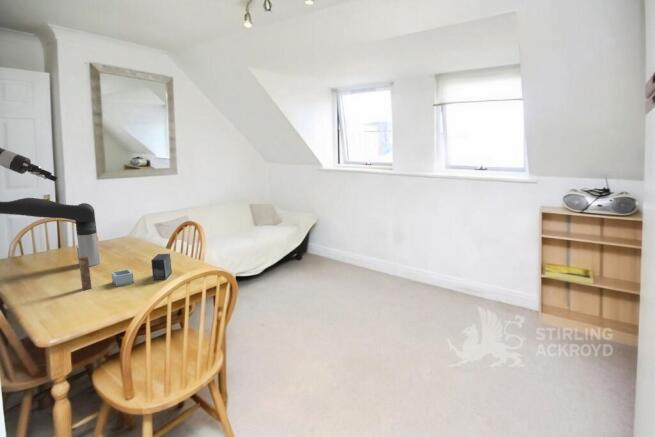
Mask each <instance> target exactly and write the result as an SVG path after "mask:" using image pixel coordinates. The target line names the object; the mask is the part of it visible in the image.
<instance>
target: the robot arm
mask: <svg viewBox="0 0 655 437" xmlns="http://www.w3.org/2000/svg"><path fill="white" fill-rule="evenodd" d="M0 166H1V167H3V168H5V169H7V170H10V171H13V172H16V173H18V174H21V175H23V174H25V173H26V172H28V173H29V174H31V175H34V176H36V177H39V178H43V179H45V180H47V179H48V180H50V181H52V182H57V180H58V177H57V176H56V175H53V174H52V172H50V171H49V170H45V169H43V168H42V167H41V166H38V165H36V164H35V163H34V164H33V163H32V162H31V159H30V158H28V157H26V156H24V155H21V154H19V153H17V152H14V151H10V150H7V149H4V148H2V147H0ZM0 214H1V215H14V216H26V217H35V218H46V219H47V218H48V219H64V220H70V221H75V230H76V237H77V238H76V239H77V246H78V247H77V248H76V252H77V260H78V261H77V262H79V257H81V256H87V257H88V262H89V267H93V266H97V265H100V263H101V258H100V250H99V241H98V232H97V224H96V223H97V222H96V215H95V214H96V213H95V209H94V207H93V206H92V205H91V204H89V203H87V202H86V203H85V202H84V203H83V202H82V203H79V204H65V203H59V202H55V201H53V200H49V199H45V198H38V197H37V198H36V197H24V198H18V199H15V200H11V201H0Z"/></svg>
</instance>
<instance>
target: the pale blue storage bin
mask: <svg viewBox="0 0 655 437" xmlns="http://www.w3.org/2000/svg"><path fill="white" fill-rule="evenodd" d="M111 281H112V282H111V283H112V284H113V285H114V286H115V287H116V288H117V287H123V286H126V285H131V284H134V283H135V281H134V273H133V272H132V271H131V270H130V269H129V268H128V269H122V270H116V271H112V272H111Z"/></svg>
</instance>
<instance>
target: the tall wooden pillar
mask: <svg viewBox="0 0 655 437" xmlns="http://www.w3.org/2000/svg"><path fill="white" fill-rule="evenodd" d="M78 265H79V272H80V282H81V287H82V290H83V291H86V290H91V289H92V287H93V286H92V280H91V271H90V266H89V262H88V257H87V256H81V257H79V261H78Z"/></svg>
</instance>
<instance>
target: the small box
mask: <svg viewBox="0 0 655 437" xmlns="http://www.w3.org/2000/svg"><path fill="white" fill-rule="evenodd" d="M150 263H151V271H152V281H166V280H168V278H169V277H170V276H171V275H172V273H173V270H172V259H171V253H158V254H156V256H154V257H153V258H152V259H151V262H150Z"/></svg>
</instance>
